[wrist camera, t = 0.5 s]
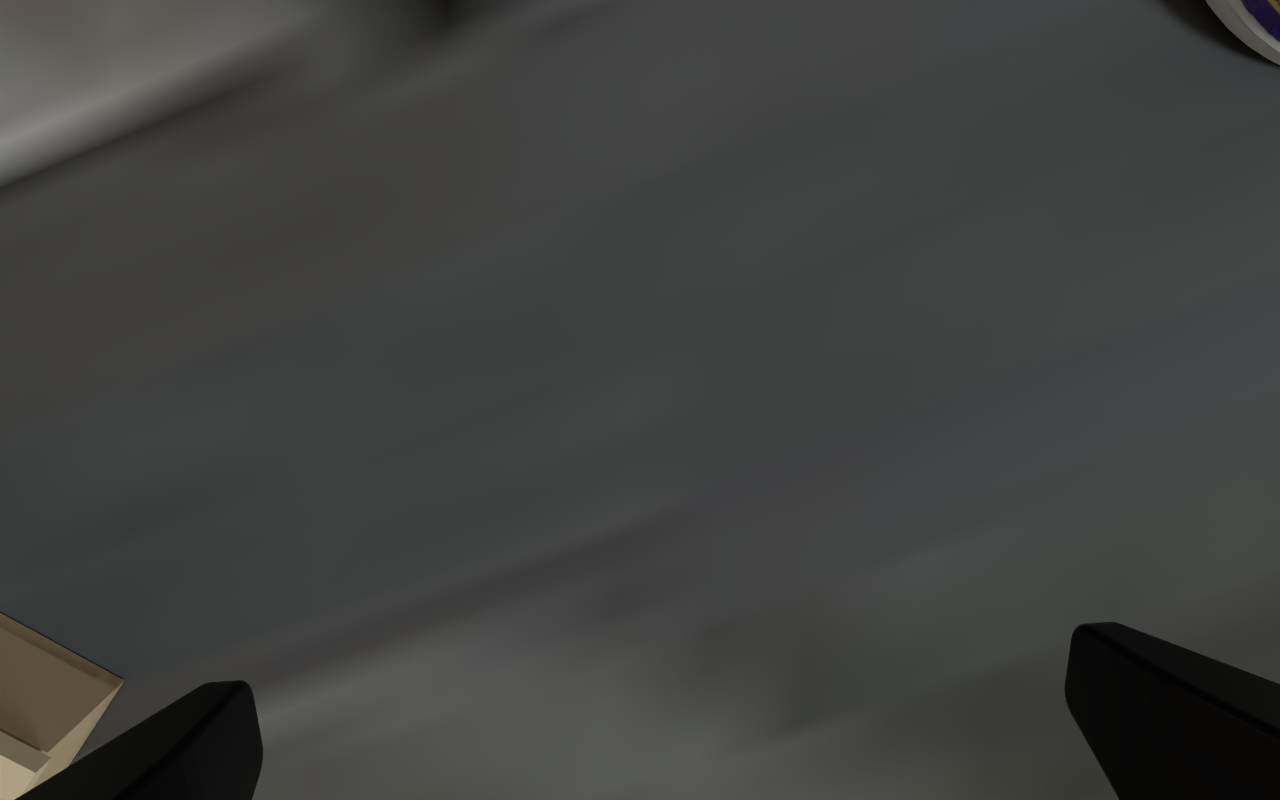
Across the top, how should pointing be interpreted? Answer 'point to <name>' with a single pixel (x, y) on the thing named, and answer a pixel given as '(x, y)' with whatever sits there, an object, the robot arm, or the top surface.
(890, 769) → the top surface
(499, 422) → the top surface
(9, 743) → the carton lid
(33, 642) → the carton
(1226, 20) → the supplement tub
